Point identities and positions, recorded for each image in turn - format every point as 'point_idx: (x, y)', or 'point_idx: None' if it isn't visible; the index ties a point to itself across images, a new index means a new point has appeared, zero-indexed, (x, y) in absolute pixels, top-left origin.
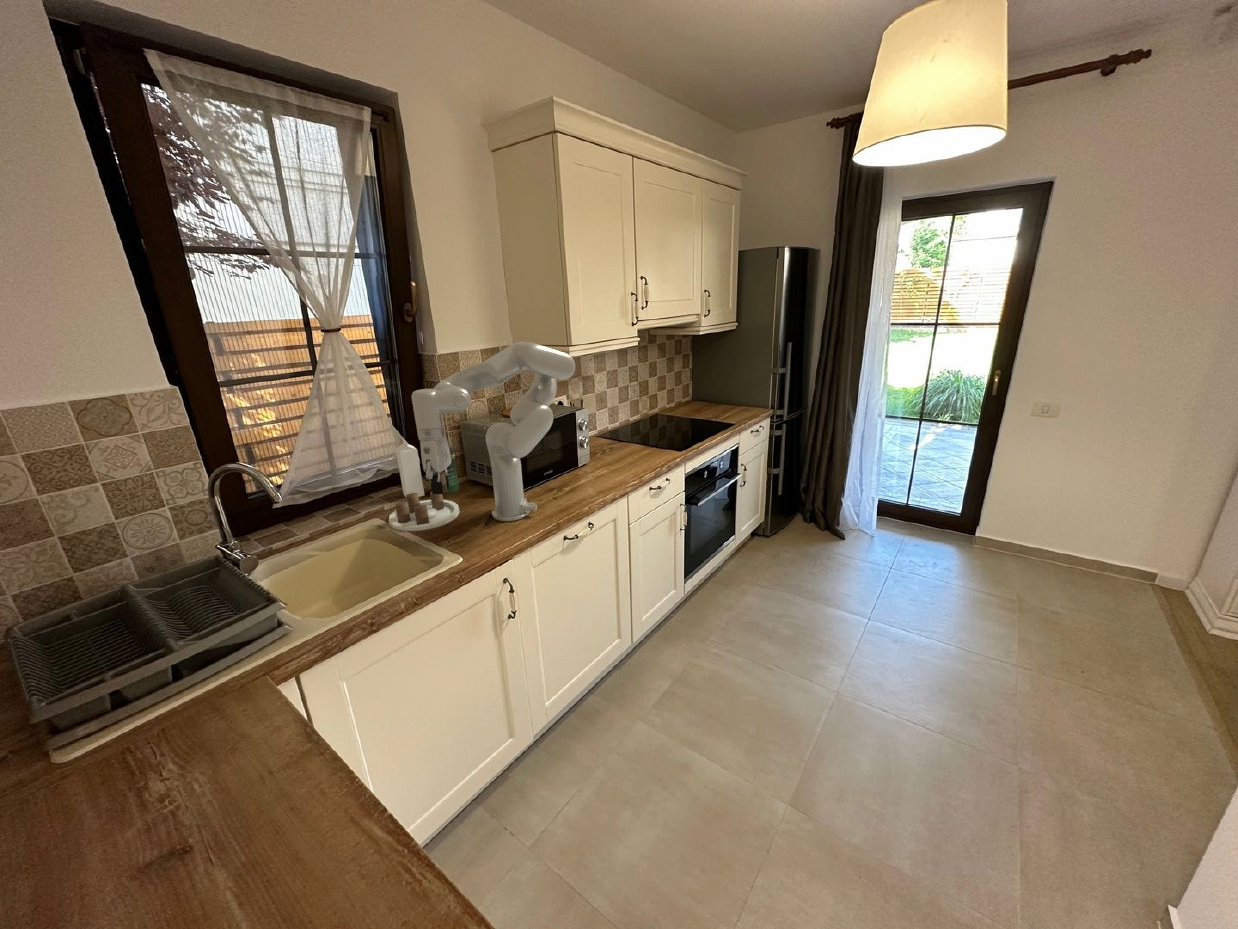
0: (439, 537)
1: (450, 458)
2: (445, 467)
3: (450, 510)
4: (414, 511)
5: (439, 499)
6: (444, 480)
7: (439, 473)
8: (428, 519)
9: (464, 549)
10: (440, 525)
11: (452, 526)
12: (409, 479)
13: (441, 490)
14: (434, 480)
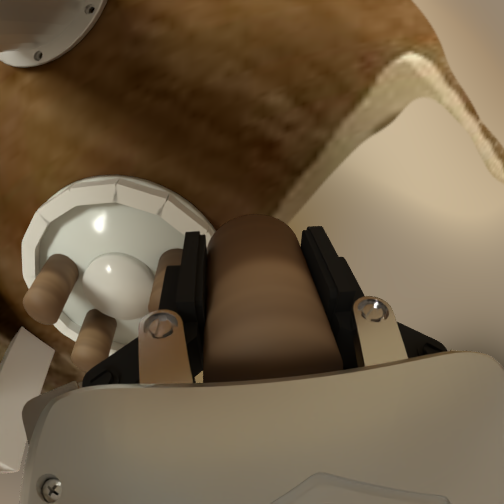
0: (255, 175)
1: (58, 457)
2: (345, 389)
3: (63, 224)
4: (112, 320)
5: (54, 281)
6: (284, 281)
7: (367, 365)
8: (171, 258)
9: (349, 57)
10: (183, 204)
11: (163, 165)
12: (27, 392)
13: (328, 245)
14: (407, 335)
